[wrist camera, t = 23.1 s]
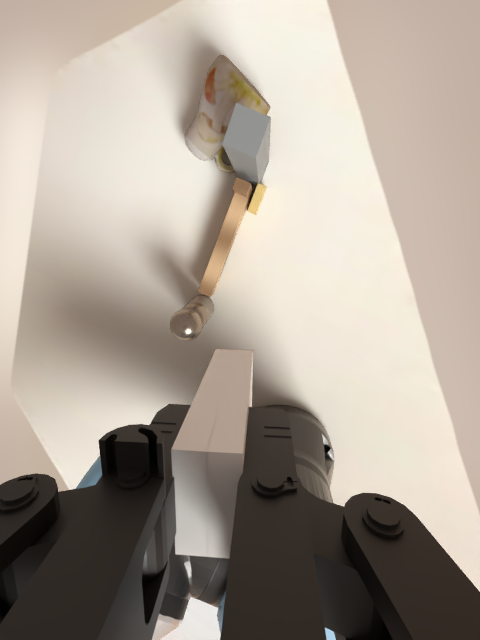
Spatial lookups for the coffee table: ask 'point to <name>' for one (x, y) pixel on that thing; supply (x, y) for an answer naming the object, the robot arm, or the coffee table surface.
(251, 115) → the post
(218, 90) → the white floral pitcher
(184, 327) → the hinge post
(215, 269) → the gate
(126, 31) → the coffee table surface
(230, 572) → the robot arm
